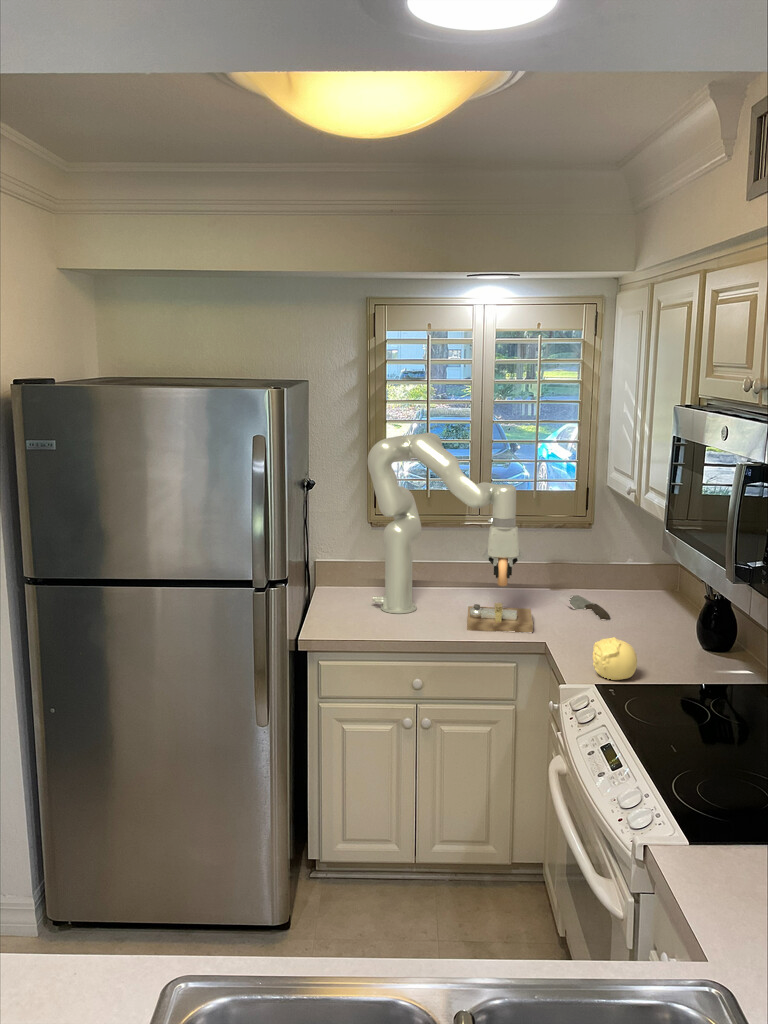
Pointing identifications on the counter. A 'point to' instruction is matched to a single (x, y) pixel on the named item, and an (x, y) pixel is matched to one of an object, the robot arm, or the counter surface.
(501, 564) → the lock pin
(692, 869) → the counter surface
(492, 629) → the base plate
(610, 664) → the sculpture
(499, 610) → the keeper
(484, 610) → the latch bar
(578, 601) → the cleaver
